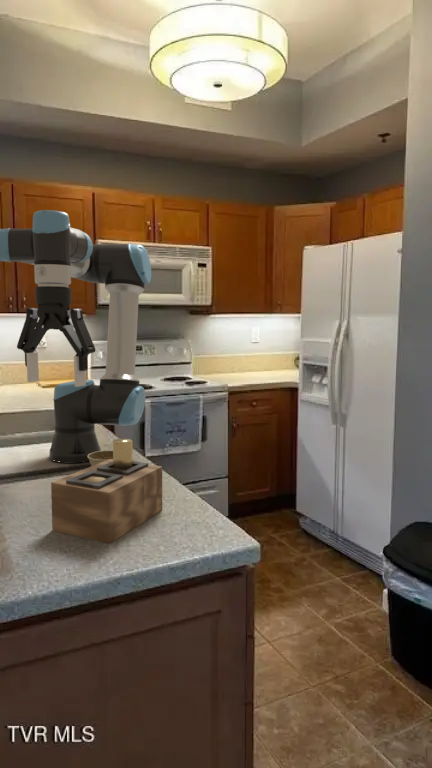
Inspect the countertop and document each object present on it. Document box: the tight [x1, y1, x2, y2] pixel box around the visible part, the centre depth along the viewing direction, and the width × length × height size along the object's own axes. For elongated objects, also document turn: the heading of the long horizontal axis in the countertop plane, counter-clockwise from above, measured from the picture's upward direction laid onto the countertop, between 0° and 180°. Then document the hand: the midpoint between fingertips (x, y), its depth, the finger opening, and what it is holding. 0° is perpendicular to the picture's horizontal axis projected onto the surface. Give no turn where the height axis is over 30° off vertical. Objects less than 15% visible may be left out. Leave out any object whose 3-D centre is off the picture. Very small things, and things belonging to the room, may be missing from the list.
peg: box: [112, 438, 134, 470], centre depth 120 cm, size 4×4×8 cm
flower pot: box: [87, 449, 113, 467], centre depth 137 cm, size 9×9×9 cm
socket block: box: [50, 459, 163, 544], centre depth 116 cm, size 20×14×11 cm
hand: (56, 383), depth 121 cm, fingers open, 13 cm apart
